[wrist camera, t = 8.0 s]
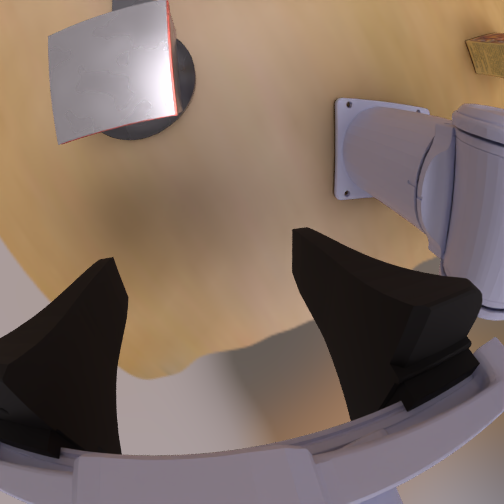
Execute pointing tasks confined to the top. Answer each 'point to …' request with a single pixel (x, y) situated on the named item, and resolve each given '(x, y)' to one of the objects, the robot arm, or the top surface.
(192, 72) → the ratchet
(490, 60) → the candy box
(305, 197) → the top surface
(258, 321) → the top surface
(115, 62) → the red-striped grey block
